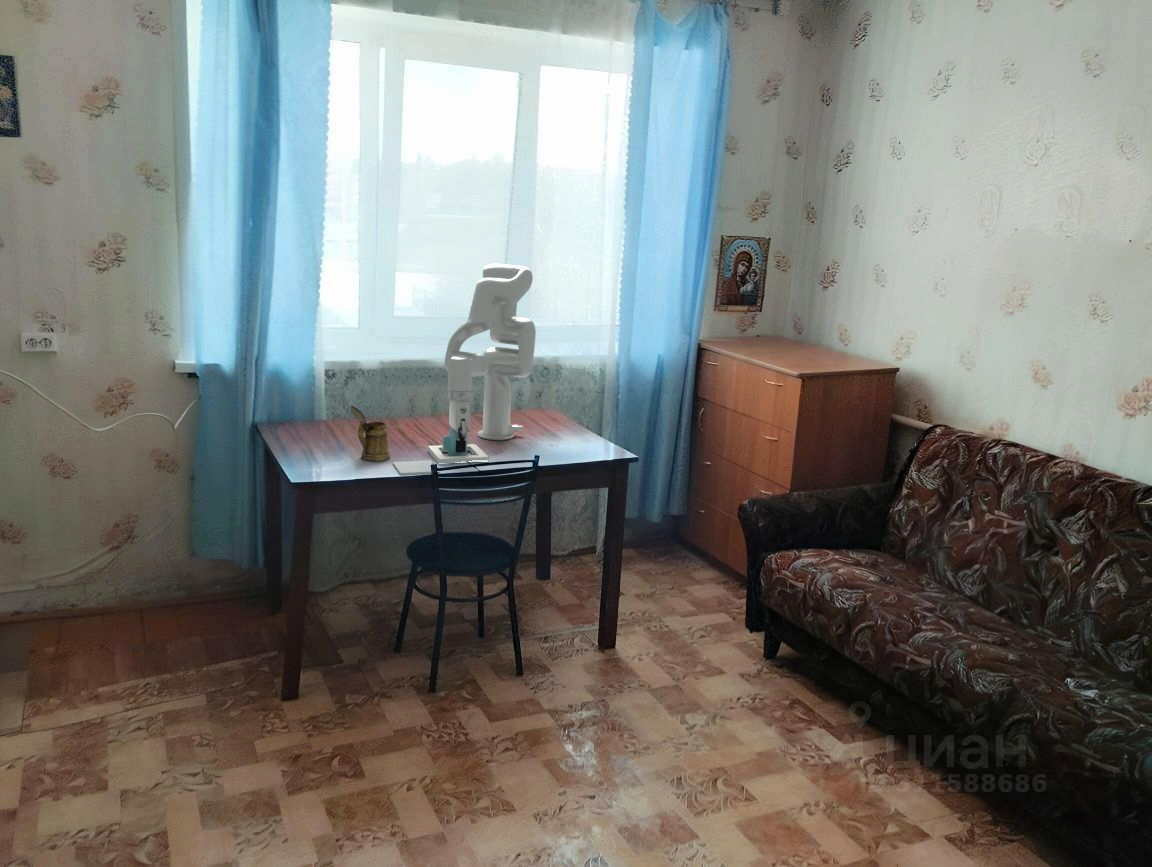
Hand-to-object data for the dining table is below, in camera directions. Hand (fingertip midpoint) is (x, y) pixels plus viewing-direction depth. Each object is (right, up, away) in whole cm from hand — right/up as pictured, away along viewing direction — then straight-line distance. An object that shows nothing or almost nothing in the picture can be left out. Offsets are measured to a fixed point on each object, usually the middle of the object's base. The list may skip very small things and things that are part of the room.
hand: (457, 449), depth 318 cm
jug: (-1, -3, 0) cm, 3 cm away
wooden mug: (-27, -3, -8) cm, 28 cm away
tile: (-11, -6, -15) cm, 20 cm away
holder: (0, -3, +1) cm, 3 cm away
